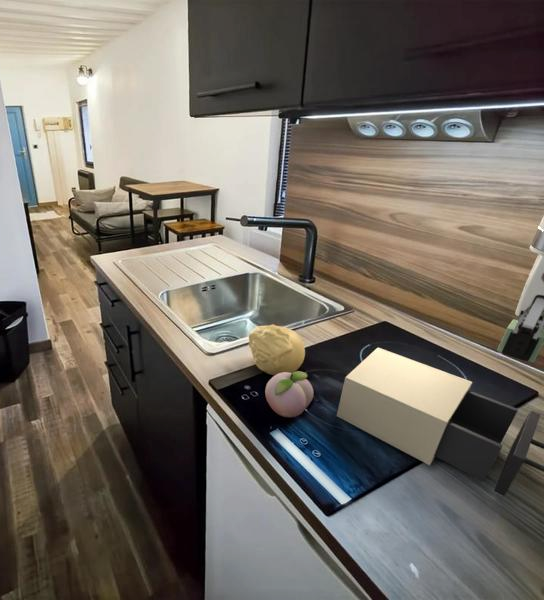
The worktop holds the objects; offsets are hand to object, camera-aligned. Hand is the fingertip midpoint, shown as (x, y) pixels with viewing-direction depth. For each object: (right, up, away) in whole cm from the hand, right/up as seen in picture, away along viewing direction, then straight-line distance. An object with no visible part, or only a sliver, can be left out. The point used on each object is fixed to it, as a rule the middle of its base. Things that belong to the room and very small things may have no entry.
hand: (518, 349), depth 60 cm
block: (0, 0, 0) cm, 0 cm away
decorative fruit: (-33, -15, +14) cm, 39 cm away
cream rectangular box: (-13, -15, +11) cm, 23 cm away
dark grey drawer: (-5, -18, +2) cm, 19 cm away
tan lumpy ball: (-30, -8, +28) cm, 42 cm away
